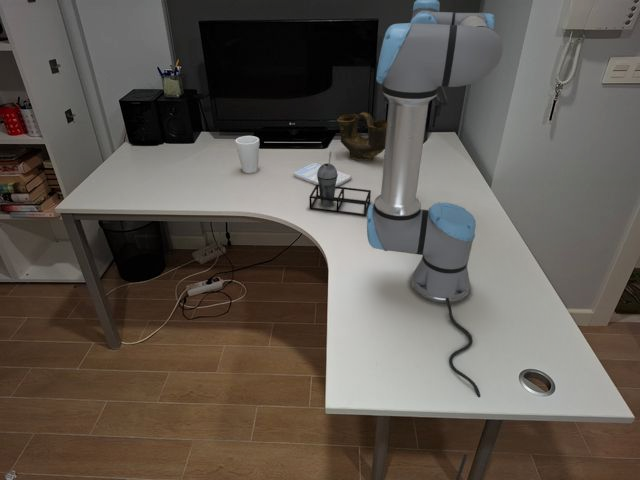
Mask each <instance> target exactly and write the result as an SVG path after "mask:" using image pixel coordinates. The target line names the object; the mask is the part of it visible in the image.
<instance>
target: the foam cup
mask: <svg viewBox="0 0 640 480" xmlns="http://www.w3.org/2000/svg"><path fill="white" fill-rule="evenodd" d="M234 143H235V147H236V151H237V154H238V159H239V163H240V166H241V169H242V172H243V173H245V174H246V173H247V174H253V173H256V172H257V171H258V169H259V158H260V157H259V153H260V138H259V137H257V136H253V135H243V136H239V137H237V138H235V142H234Z"/></svg>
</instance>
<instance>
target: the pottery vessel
mask: <svg viewBox="0 0 640 480" xmlns="http://www.w3.org/2000/svg"><path fill="white" fill-rule="evenodd" d="M362 117H363V118H364V119H365V121H366V126H367V130H368V137H365V136H362V135H360V133H359V131H358V124H359V121H360V119H361V118H362ZM336 121H337V123H338V126H339V127H338V128H339V132H340V143H341V144H342V145H343V146H344V147H345V148H346V150H347V151H348V154H349V155H348V158H349V159H351V160H354V161H356V162H357V161H360V160H367V161H369V160H370V161H373V160H374V158H376V157H377V156H378V155H380V154H381V153H382V152H383V151H385V141H386V129H387V120H384V119H380V120H379V119H378V120H374V118H373V116H372V115H371V114H369V113H368V112H365V111H362V112H361V113H359V114H356V113H350V114H349V113H347V114H343V115H341V116H339V117H338V118H337V119H336Z"/></svg>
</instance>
